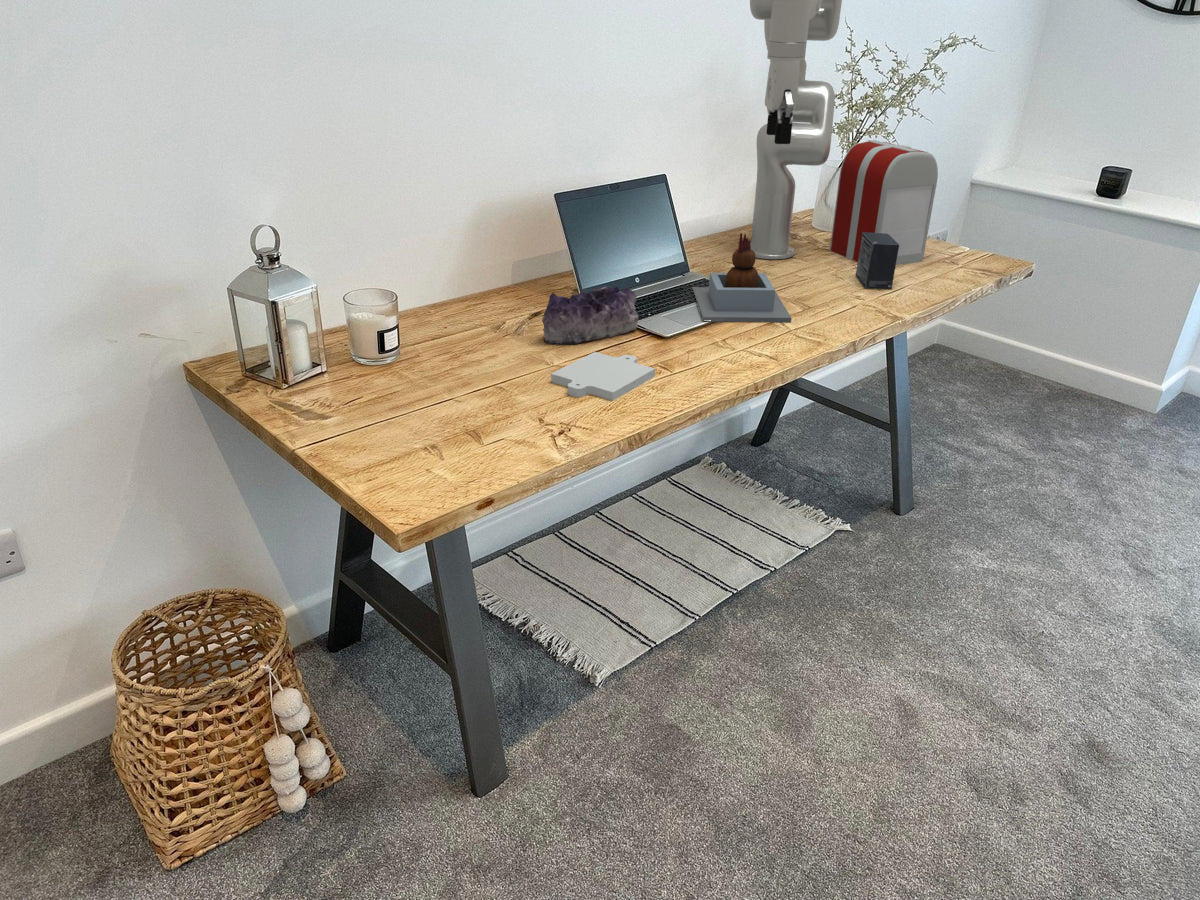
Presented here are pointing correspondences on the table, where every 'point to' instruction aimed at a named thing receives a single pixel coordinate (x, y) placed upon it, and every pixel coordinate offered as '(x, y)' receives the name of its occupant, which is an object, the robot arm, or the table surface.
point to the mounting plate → (603, 376)
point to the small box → (877, 260)
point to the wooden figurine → (742, 267)
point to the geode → (589, 316)
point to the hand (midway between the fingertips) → (777, 139)
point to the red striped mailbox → (884, 198)
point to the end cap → (740, 302)
